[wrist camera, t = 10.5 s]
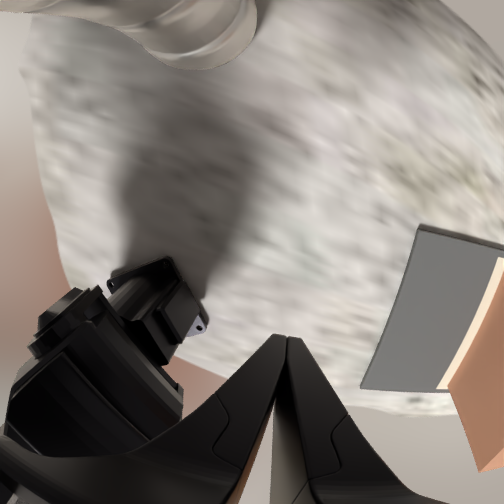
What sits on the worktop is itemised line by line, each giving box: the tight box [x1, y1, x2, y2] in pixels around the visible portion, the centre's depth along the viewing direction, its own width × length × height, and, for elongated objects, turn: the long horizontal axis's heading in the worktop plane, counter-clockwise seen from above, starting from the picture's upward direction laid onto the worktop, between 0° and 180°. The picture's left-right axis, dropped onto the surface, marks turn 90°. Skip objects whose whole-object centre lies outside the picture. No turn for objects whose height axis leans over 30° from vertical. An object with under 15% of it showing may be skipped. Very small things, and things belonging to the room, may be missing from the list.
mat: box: [360, 229, 504, 393], centre depth 20 cm, size 24×14×1 cm, turn 83°
